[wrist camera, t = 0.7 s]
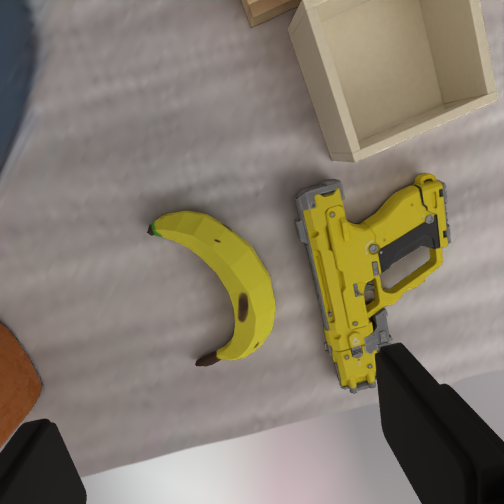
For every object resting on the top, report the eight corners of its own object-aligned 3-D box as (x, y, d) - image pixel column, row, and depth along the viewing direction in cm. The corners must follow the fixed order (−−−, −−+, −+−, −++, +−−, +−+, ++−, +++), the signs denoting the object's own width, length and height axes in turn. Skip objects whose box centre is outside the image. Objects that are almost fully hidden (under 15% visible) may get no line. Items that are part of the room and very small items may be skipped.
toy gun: (444, 150, 32) (291, 194, 32) (463, 366, 40) (339, 402, 40) (426, 150, 35) (285, 190, 35) (447, 351, 43) (331, 384, 43)
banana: (176, 189, 31) (86, 295, 35) (313, 312, 34) (213, 395, 38) (189, 181, 35) (107, 277, 39) (309, 291, 38) (220, 368, 42)
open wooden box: (286, 29, 31) (302, -2, 25) (416, -31, 31) (465, -78, 25) (331, 160, 35) (354, 162, 29) (448, 109, 34) (498, 100, 28)
